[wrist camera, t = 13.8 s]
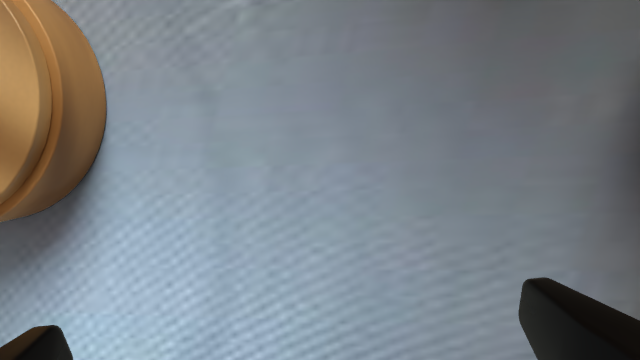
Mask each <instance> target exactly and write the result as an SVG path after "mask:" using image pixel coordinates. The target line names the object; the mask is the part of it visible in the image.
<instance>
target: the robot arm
mask: <svg viewBox="0 0 640 360" xmlns="http://www.w3.org/2000/svg"><path fill="white" fill-rule="evenodd" d="M519 321H520V324H521V326H522V328H523V330H524V332H525V334H526V337H527V339H528V341H529V343H530V345H531V347H532V349H533V351H534V353H535V355H536V357H537V359H538V360H640V321H639V320H637V319H635V318H633V317H631V316H628V315H626V314H624V313H622V312H620V311H618V310H616V309H613V308H611V307H609V306H607V305H605V304H603V303H601V302H599V301H596V300H594V299H592V298H590V297H588V296H586V295H584V294H582V293H579V292H577V291H575V290H573V289H571V288H569V287H567V286H564V285H562V284H560V283H558V282H556V281H554V280H552V279H549V278H533V279H527V280H526V281H525V282H524V283H523V286H522V292H521V299H520V305H519ZM0 360H73V356H72V353H71V351H70V349H69V346H68V344H67V341H66V339H65V337H64V334H63V332H62V330H61V328H59V327H58V326H56V325H48V326H38V327H34V328H31V329H29V330H28V331H26V332H25V333H23V334H21V335H20V336H18V337H17V338H15V339H13V340H12V341H10V342H8V343H7V344H5V345H4V346H2V347H0Z"/></svg>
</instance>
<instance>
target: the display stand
mask: <svg viewBox="0 0 640 360" xmlns="http://www.w3.org/2000/svg"><path fill="white" fill-rule="evenodd" d="M105 119H106V97H105V88H104V82H103V78H102V74H101V70H100V67H99V65H98V62H97V59H96V57H95V54H94V52H93V50H92V48H91V46H90V44H89V43H88V41H87V39H86V37H85V36H84V35H83V33H82V32H81V30H80V29H79V27H78V26H77V25H76V24H75V22H74V21H73V20H72V19H71V18H70V17H69V16H68V15H67V13H66V12H64V11H63V10H62V9H61V8H60V7H59V6H58V5H56V4H55V3H54V2H53V1H51V0H0V222H4V221H8V220H12V219H17V218H21V217H25V216H29V215H31V214H34V213H37V212H40V211H42V210H44V209H46V208H48V207H50V206H52V205H54V204H55V203H57V202H58V201H59V200H61V199H62V198H64V197H65V196H66V195H67V194H68V193H69V192H71V191H72V190H73V189H74V188H75V187H76V186H77V185H78V183H79V182H80V181H81V180H82V178H83V177H84V176H85V175H86V173H87V171H88V170H89V168H90V166H91V165H92V163H93V161H94V159H95V157H96V154H97V152H98V150H99V147H100V144H101V140H102V137H103V133H104V126H105Z"/></svg>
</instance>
